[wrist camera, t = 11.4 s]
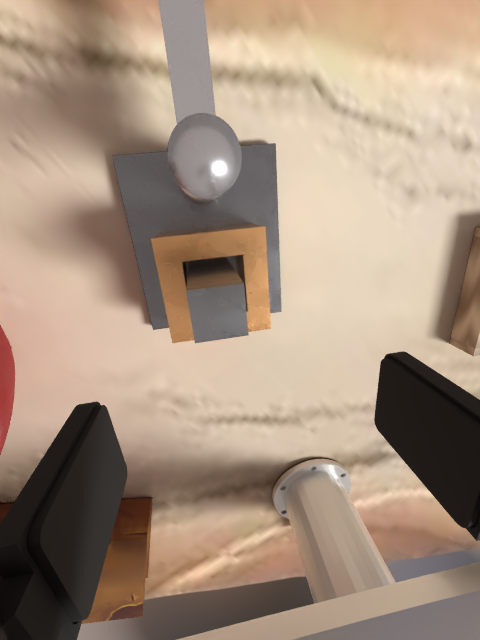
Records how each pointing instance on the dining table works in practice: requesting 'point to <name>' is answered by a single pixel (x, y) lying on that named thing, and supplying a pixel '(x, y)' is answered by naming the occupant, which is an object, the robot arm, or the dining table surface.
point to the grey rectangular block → (216, 300)
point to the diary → (121, 563)
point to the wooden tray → (469, 304)
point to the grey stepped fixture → (200, 191)
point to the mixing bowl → (6, 386)
